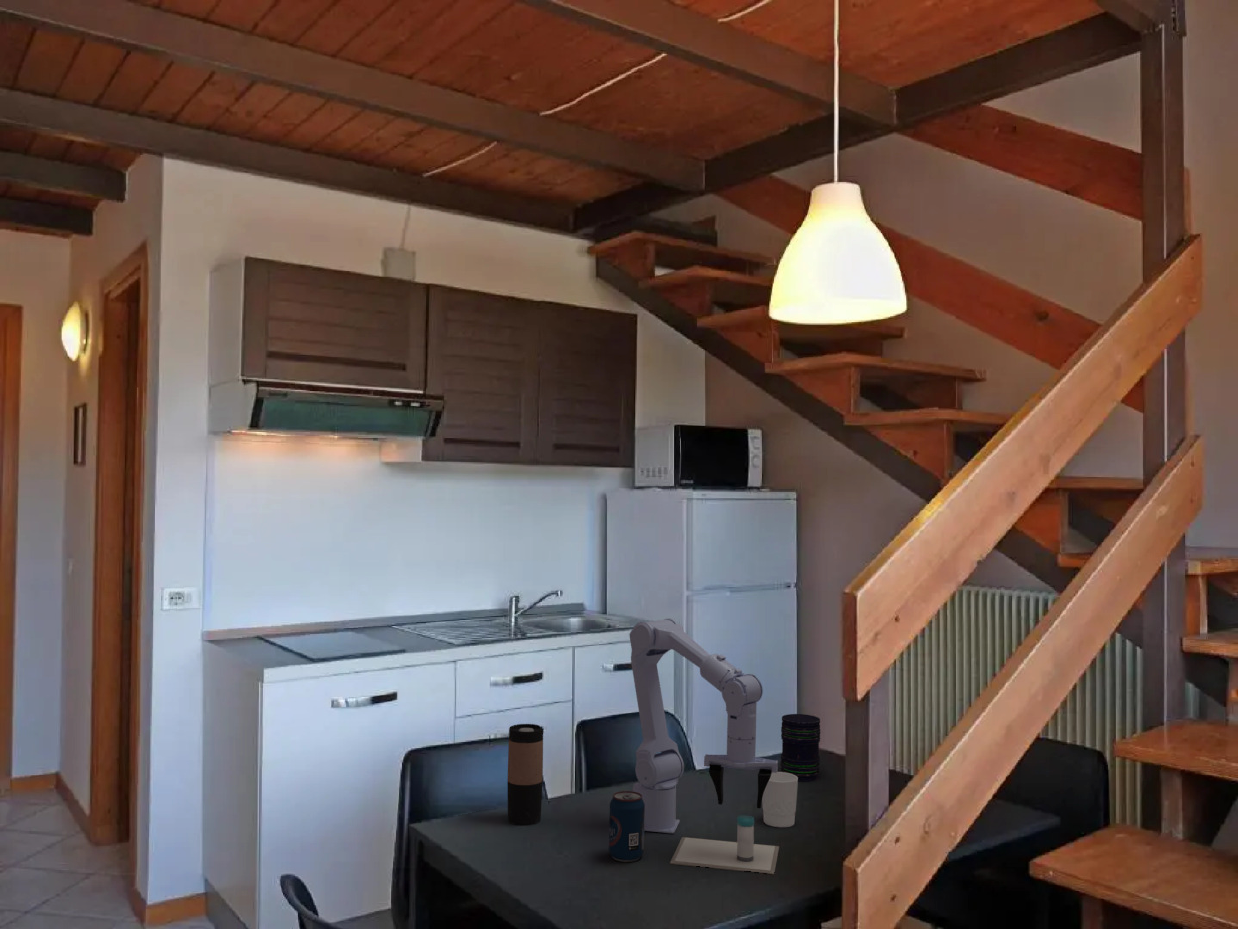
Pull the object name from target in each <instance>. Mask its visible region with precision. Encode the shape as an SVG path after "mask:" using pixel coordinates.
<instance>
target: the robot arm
mask: <svg viewBox="0 0 1238 929" xmlns="http://www.w3.org/2000/svg"><path fill="white" fill-rule="evenodd" d="M628 636H629V639H630V647H631V651H630V652H631V654H630V664H631V670H632V675H633V682H634V688H635V695H636V702H637V708H638V714H639V720H640V726H641V733H642V739H643V740H642V743H640V745H639V747H638V748H637V750H636V751H635V755H636V756H635V757H636V762H635V776H636V779H637V780H638V782H635V783H633V787H632V791H633V792H637V793H640V794H641V795H642V799H643V802H644V804H645V820H644V832H655V833H656V832H657V833H664V834H675V832H676V830H677V828H678V826H679V824H680V821H681V820H680V819H676V818H677V817H676V815H677V814H676V812H677V811H676V810H677V808H676V807H677V785H678V784H679V779H680V778H681V777H682V776H683V774H684V770H685V763H684V760H683V757H682V756H681V754H680V752H679V747H678V744H677V742H675V741H674V740H673V739H672V738H670V736H669V733H668V732H669V731H668V726H667V721H666V713H665V708H664V700H663V694H662V690H661V684H660V678H659V670H658V663H659V662H660V661H661V659H662V658H663V656H664V655H666V654H667V653H668V652H670V651H671V650H673V651H675V652H676V653H677V654H679V655H681V656H682V657H684V659H686V660H688V661H689V662H691V663H692V664H694V665H695V666H696V667H698V668H699V673H700V676H701V677H702V678H703V679H704V680H706V682H707V683H709V684H710V685H711V686H713V687H714V688H716V690H718V691H719V692H720V693H721V696H722V699H723V701H724V703H725V711H726V714H727V719H726V721H727V722H726V723H727V726H726V727H727V728H726V729H727V730H726V754H707V753H706V754H705V755H704V757H703V758H704V760H703V762H704V763H703V766H704V767H706V768H707V767H709V769H708V774H709V776H710V778H711V780H712V783H713V786H714V789H715V792H716V796H717V802H718V805H721V806H722V805H723V803H724V768H730V769H741V770H753V771H758V773H757V798H756V799H757V800H756V808H757V809H761V808H762V805H763V804H762V797H763V793H764V791H765V788H766V786H767V783H768V781H769V779H770V777H771V774H772V772H773V773H777V772H778V771H779V770H778V764H779V760H777V759H776V760H775V759H774V760H773V759H768V758H763V757H759V756H756V748H757V747H756V745H757V744H756V742H757V741H756V739H757V705H758V704H757V703H758V702H759V701H760V700H761V698H762V697H763V692H764V690H763V685H762V683H761V681H760V679H759V678H758V677H757V676H756V675H755V674H753V673H747V674H746V673H745V672H743V671H742V669H740V668H737V667H735V666H734V665H733V664H731V663H730V662H729V661H727V660H726V658H727V657H726V655H724V654H718V653H713V654H712V653H711V654H710V653H708V651H706V650H705V649H704V648H703V647H702V646H701V645H699V644H698V642H696V641H695V640H694V639H693V638H691V636H689V635H688V634H687V633H686V632H685V631H684V627H683V625H681V624H680V623H677V621H676V620H675V619H672V618H665V619H659V620H651V621H650V620H648V621H639V622H637V623H636V624H635V625H634V626H633V627H632V629H631V631H630V632H629V634H628Z"/></svg>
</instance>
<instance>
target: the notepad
mask: <svg viewBox="0 0 1238 929" xmlns="http://www.w3.org/2000/svg"><path fill="white" fill-rule="evenodd" d="M779 851H780V846H779V845H772V844H771V845H770V844H761V843H754V851H753V861H751V862H742V861H739V860H738V859H737V841H729V840H716V839H709V838H708V839H706V838H698V837H697V838H696V837H686V836H682V837H681V838H680V841H679V843H678V845H677V847H676V850H675V851H674V854H673V855H672V858H671V860H670V862H669V864H670V865H678V866H679V865H680V866H688V867H696V866H700V868H705V867H709V868H708V869H715V870H717V869H718V870H725V871H726V870H727V871H735V872H744V871H751V872H750V873H754V872H759V873H758V874H763V873H767V874H766V875H775V873H774V872H776V867H777V861H778V856H779Z"/></svg>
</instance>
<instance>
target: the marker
mask: <svg viewBox="0 0 1238 929" xmlns="http://www.w3.org/2000/svg"><path fill="white" fill-rule="evenodd" d="M736 823H737V832H736V834H737V835H736V837H737V840H736V842H737V859H738V860H739V861H742V862H751V861H753V851H754V844H755V835H754V834H755V828H754V827H755V817H754V816H752V815H748V814H740V815H738V816H737V819H736Z"/></svg>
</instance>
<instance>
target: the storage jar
mask: <svg viewBox="0 0 1238 929" xmlns="http://www.w3.org/2000/svg"><path fill="white" fill-rule="evenodd" d="M780 729H781V730H780V732H781V735H780V737H781V740H782V741H781V742H782V743H781V744H782V745H781V746H782V749H781V754H780V767H781V768H780V772H785V773H790V774H793V775H795V776H797V777H798V783H799V782H803V783H804V782H810V783H815V781H816V782H818V781H819V780H820V775H819V774H820V769H821V763H820V762H821V758H820V748H819V746H820V742H821V718H820V717H818V716H815V715H810V714H806V713H805V714H803V713H790V714H784V715H782V716H781V727H780ZM803 783H802V784H803ZM804 784H805V783H804Z"/></svg>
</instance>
